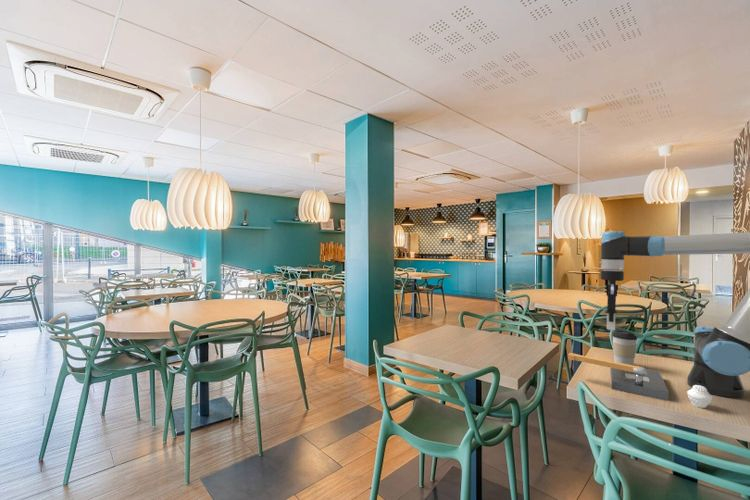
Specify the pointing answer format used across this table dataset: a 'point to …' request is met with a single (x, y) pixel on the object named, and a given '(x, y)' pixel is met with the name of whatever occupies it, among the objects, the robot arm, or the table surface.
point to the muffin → (699, 396)
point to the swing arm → (607, 363)
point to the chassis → (640, 383)
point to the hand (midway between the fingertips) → (610, 329)
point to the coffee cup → (624, 347)
